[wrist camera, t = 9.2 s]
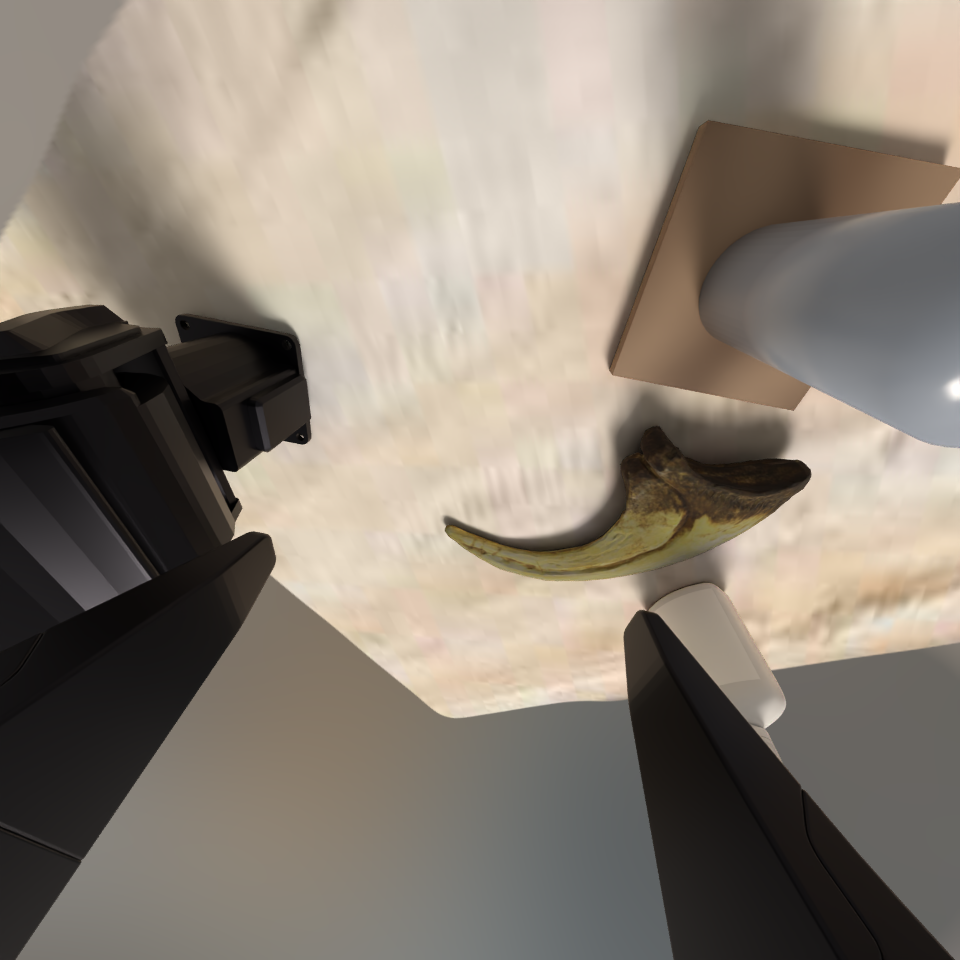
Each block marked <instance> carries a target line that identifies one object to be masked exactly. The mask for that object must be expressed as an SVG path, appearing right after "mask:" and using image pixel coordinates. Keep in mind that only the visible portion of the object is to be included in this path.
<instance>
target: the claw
mask: <svg viewBox="0 0 960 960" xmlns="http://www.w3.org/2000/svg"><path fill="white" fill-rule="evenodd" d="M640 447H641V450H642V452H643V454H641V453H639V452H637V453H635V454H632V455H630V456H628V457H626V458H625V459H624V460H623V461H622V463H621V474H622V477H623V479H624V483H625V489H626V510H625V511H623V513H622V515H621V516H620V519H619V520H618V521H617V522H616V523H615V524H614V525H613V526H612V528H611V529H610V530H609V531H608V532H607V533H605V534H604V535H603V536H601V537H600V538H598V539H597V540H595V541H593V542H591V543H588V544H586V545H583V546H579V547H573V548H568V549H562V550H555V551H543V552H538V551H528V550H522V549H517V548H512V547H508V546H505V545H501V544H499V543H496V542H493V541H490V540H487V539H485V538H482V537H480V536H477V535H475V534H472V533H469V532H466V531H464V530H462V529H460V528H458V527H455V526H453V525H447V526H446V528H445V532H446V533H447V535H448V536H449V537H450V538H452V539H453V540H454V541H456V542H457V543H458V544H459V545H461V546H462V547H463V548H465V549H466V550H468V551H469V552H471V553H473V554H474V555H476V556H477V557H478V558H480V559H482V560H484V561H486V562H488V563H489V564H491V565H493V566H495V567H497V568H499V569H502V570H505V571H508V572H512V573H516V574H519V575H523V576H527V577H531V578H536V579H541V580H547V581H588V580H599V579H609V578H615V577H622V576H627V575H633V574H638V573H643V572H647V571H652V570H656V569H659V568H662V567H665V566H668V565H672V564H674V563H677V562H680V561H684V560H686V559H689V558H692V557H694V556H696V555H699V554H701V553H703V552H706V551H708V550H710V549H712V548H714V547H717V546H719V545H721V544H723V543H725V542H727V541H729V540H731V539H733V538H735V537H736V536H738V535H740V534H741V533H743V532H745V531H746V530H748V529H750V528H751V527H753V526H754V525H756V524H757V523H759V522H760V521H762V520H763V519H765V518H766V517H767V516H769V515H770V514H772V513H774V512H775V511H776V510H777V509H778V508H779V507H780V506H781V505H782V504H784V503H785V502H786V501H788V500H789V499H790V498H791V497H792V496H793V495H795V494H796V493H798V492H800V491H801V490H802V489H804V487H805V486H806V484H807V483H808V482H809V480H810V478H811V470H810V469H809V468H808V467H807V466H806V464H804V463H803V462H802V461H800V460H787V459H777V458H775V459H763V460H754V461H746V462H741V463H730V464H718V465H716V464H713V465H710V464H702V463H700V462H697V461H695V460H692V459H689V458H686V457H684V456H683V454H682V453H681V451H680V450H679V448H678V447H675V446H674V445H673V443H672V442H671V441H670V440H669V439H668V437H667V436H666V435H665V433H664V432H663V431H662V429H661V428H660V427H659V426H657V427H652V428H650V429H648V430H646V431H645V433H644V434H643V437H642V439H641V444H640Z"/></svg>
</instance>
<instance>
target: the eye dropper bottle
mask: <svg viewBox="0 0 960 960" xmlns="http://www.w3.org/2000/svg"><path fill="white" fill-rule="evenodd" d="M648 611H650V612H654V613H657V614H658V615H659V616H660V617H661V618H662V619H663V620H664V622H665V623H666V624H667V625H668V626H669V628H670V629H671V630H672V631H673V632H674V634H675V635H676V636H677V637H678V638H679V640H680V641H681V642H682V643H683V644H684V646H685V647H686V648H687V649H688V650H689V652H690V653H691V654H692V655H693V656H694V658H695V659H696V660H697V661H698V662H699V664H700V665H701V666H702V667H703V668H704V670H705V671H706V672H707V673H708V674H709V676H710V677H711V678H712V679H713V680H714V682H715V683H716V684H717V685H718V686H719V688H720V689H721V690H722V691H723V692H724V694H725V695H726V696H727V697H728V698H729V700H730V701H731V702H732V703H733V704H734V706H735V707H736V708H737V709H738V710H739V712H740V713H741V714H742V715H743V716H744V718H745V719H746V720H747V721H748V722H749V724H750V725H751V726H752V727H753V728H754V730H755V731H756V732H757V733H758V734H759V736H760V737H761V738H762V739H763V740H764V742H765V743H766V744H767V745H768V746H769V748H770V749H771V750H772V751H773V752H774V754H775V755H776V756H777V757H778V758H779V760H780V761H781V762H782V760H781V758H780V756H779V755H778V752H777V750H776V748H775V746H774V744H773V742H772V740H771V738H770V736H769V734H768V732H767V731H766V730H765V728H766V727H768V726H769V725H771V724H772V723H773V722H774V721H775V720H777V718H779V717H780V715H781V714H782V713H783V711H784V710H785V707H786V700H785V697H784V694H783V692H782V690H781V688H780V686H779V684H778V683H777V681H776V679H775V677H774V675H773V673H772V672H771V670H770V668H769V666H768V665H767V663H766V661H765V659H764V657H763V656H762V654H761V652H760V650H759V649H758V647H757V645H756V643H755V642H754V640H753V638H752V636H751V635H750V633H749V631H748V629H747V628H746V626H745V624H744V622H743V621H742V619H741V617H740V615H739V614H738V612H737V610H736V608H735V607H734V605H733V603H732V602H731V600H730V598H729V597H728V595H727V594H726V593H724V592H723V591H722V590H721V589H720V588H719V587H717V586H716V585H714V584H712V583H701V584H696V585H692V586H688V587H685V588H682V589H679V590H677V591H674V592H672V593H670V594H668V595H666V596H665V597H663V598H662V599H660V600H659V601H658V602H656V603H655V604H654V605H653V606H652V607H651V608H650V609H649V610H648Z"/></svg>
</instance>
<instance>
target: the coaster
mask: <svg viewBox="0 0 960 960" xmlns="http://www.w3.org/2000/svg"><path fill="white" fill-rule="evenodd" d="M959 178H960V168H957V167H952V166H946V165H941V164H936V163H931V162H925V161H920V160H915V159H909V158H904V157H899V156H894V155H888V154H883V153H878V152H873V151H867V150H862V149H857V148H852V147H846V146H841V145H836V144H831V143H825V142H820V141H815V140H810V139H804V138H799V137H794V136H789V135H783V134H778V133H773V132H767V131H762V130H757V129H752V128H746V127H741V126H736V125H731V124H725V123H720V122H715V121H710V120H708V121H707V122H705V123H704V124H702V125H701V126H700V127H699V129H698V131H697V134H696V137H695V139H694V142H693V145H692V148H691V150H690V153H689V156H688V158H687V161H686V164H685V167H684V169H683V172H682V175H681V177H680V180H679V183H678V186H677V188H676V191H675V194H674V196H673V199H672V202H671V205H670V207H669V210H668V213H667V215H666V218H665V221H664V224H663V226H662V229H661V232H660V234H659V237H658V240H657V243H656V245H655V248H654V251H653V253H652V256H651V259H650V261H649V264H648V267H647V270H646V272H645V275H644V278H643V280H642V283H641V286H640V289H639V291H638V294H637V297H636V299H635V302H634V305H633V308H632V310H631V313H630V316H629V318H628V321H627V324H626V327H625V329H624V332H623V335H622V337H621V340H620V343H619V346H618V348H617V351H616V354H615V356H614V359H613V362H612V365H611V367H610V370H609V371H610V372H611V374H612V375H614V376H619V377H624V378H629V379H635V380H640V381H645V382H650V383H655V384H660V385H665V386H670V387H675V388H680V389H685V390H691V391H696V392H701V393H706V394H711V395H716V396H721V397H726V398H731V399H736V400H742V401H747V402H752V403H757V404H762V405H767V406H772V407H777V408H782V409H787V410H793V411H794V410H795V408H796V407H797V405H798V404H799V403H800V401H801V400H802V398H803V397H804V396H805V394H806V393H807V391H808V390H809V389H810V387H811V386H809V385H807V384H805V383H803V382H801V381H799V380H797V379H795V378H793V377H791V376H789V375H787V374H785V373H783V372H781V371H779V370H777V369H775V368H773V367H771V366H769V365H767V364H765V363H763V362H761V361H759V360H757V359H755V358H753V357H751V356H749V355H747V354H745V353H743V352H741V351H739V350H737V349H735V348H733V347H731V346H729V345H727V344H725V343H723V342H721V341H719V340H717V339H715V338H714V337H713V336H711V335H710V334H709V333H708V332H707V331H706V329H705V328H704V326H703V324H702V322H701V319H700V315H699V297H700V291H701V288H702V285H703V282H704V280H705V278H706V276H707V274H708V272H709V270H710V269H711V267H712V266H713V264H714V263H715V261H716V260H717V259H718V258H719V257H720V255H721V254H722V253H723V252H724V251H725V250H726V249H727V248H728V247H729V246H730V245H732V244H733V243H734V242H735V241H737V240H738V239H740V238H741V237H743V236H744V235H746V234H748V233H750V232H752V231H753V230H756V229H759V228H761V227H764V226H768V225H772V224H780V223H788V222H797V221H805V220H814V219H822V218H831V217H839V216H848V215H856V214H865V213H873V212H882V211H890V210H899V209H907V208H916V207H924V206H933V205H941V204H942V202H943V201H944V199H945V198H946V197H947V195H948V194H949V192H950V191H951V190H952V188H953V187H954V185H955V184H956V183H957V181H958V180H959Z"/></svg>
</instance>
